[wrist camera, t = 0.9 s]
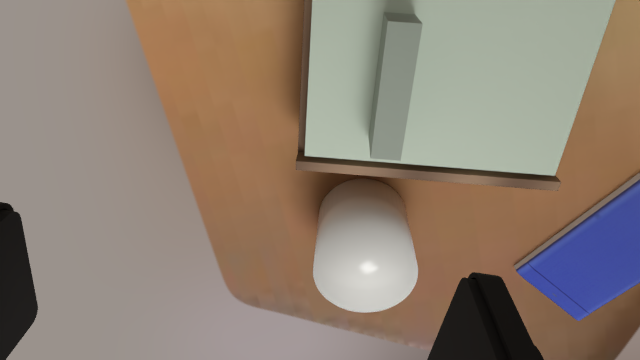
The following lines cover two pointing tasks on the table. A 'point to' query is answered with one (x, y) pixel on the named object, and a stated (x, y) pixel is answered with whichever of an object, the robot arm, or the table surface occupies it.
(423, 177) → the walnut box
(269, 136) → the table surface
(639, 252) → the blue book
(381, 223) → the white round canister
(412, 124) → the lid
